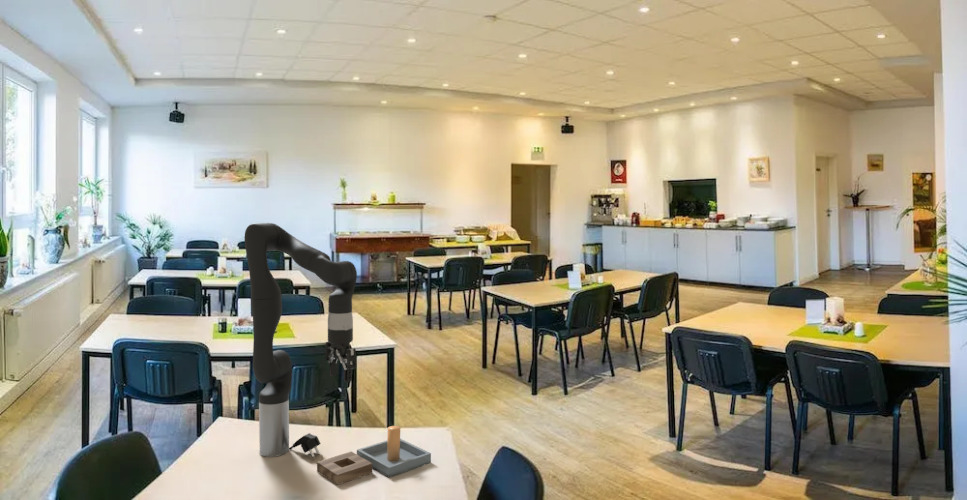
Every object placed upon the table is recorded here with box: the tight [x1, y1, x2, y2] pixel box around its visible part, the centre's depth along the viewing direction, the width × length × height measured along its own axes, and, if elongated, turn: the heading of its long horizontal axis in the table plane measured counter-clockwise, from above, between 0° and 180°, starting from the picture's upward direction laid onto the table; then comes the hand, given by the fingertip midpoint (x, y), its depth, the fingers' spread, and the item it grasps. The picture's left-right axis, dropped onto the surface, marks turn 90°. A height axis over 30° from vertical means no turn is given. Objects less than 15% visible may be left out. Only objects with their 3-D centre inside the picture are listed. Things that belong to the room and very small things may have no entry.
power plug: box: [289, 432, 321, 458], centre depth 199 cm, size 6×8×12 cm
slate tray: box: [356, 438, 432, 478], centre depth 194 cm, size 18×16×3 cm
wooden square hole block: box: [316, 451, 373, 486], centre depth 185 cm, size 12×12×3 cm
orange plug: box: [386, 425, 401, 461], centre depth 194 cm, size 4×4×10 cm
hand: (340, 378), depth 187 cm, fingers open, 8 cm apart
